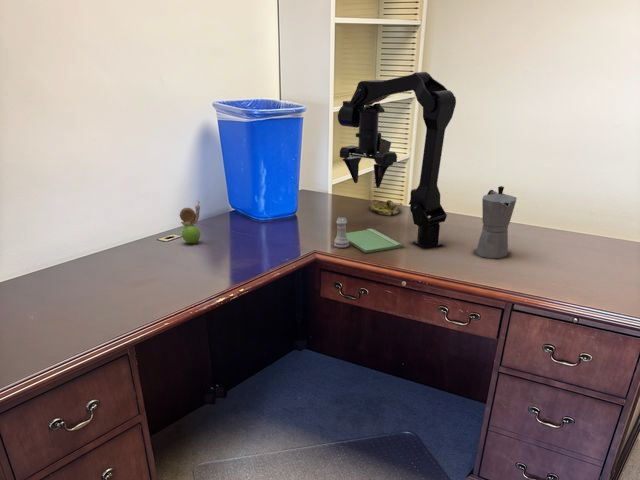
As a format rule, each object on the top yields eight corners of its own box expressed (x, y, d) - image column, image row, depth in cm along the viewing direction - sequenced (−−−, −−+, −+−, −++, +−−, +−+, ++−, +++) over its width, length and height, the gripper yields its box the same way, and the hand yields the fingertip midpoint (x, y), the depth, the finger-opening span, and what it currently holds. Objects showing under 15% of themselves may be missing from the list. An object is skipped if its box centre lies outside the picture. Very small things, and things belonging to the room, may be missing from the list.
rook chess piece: (331, 244, 177) (331, 217, 173) (345, 243, 178) (345, 215, 174) (337, 249, 174) (337, 221, 169) (351, 247, 175) (351, 219, 170)
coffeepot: (515, 260, 163) (527, 191, 153) (482, 261, 163) (491, 192, 153) (497, 243, 176) (507, 178, 166) (466, 244, 176) (474, 179, 166)
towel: (402, 247, 174) (402, 243, 174) (365, 253, 170) (365, 249, 170) (373, 231, 188) (373, 228, 187) (338, 236, 184) (338, 233, 183)
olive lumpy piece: (365, 209, 215) (380, 219, 203) (364, 195, 212) (379, 205, 200) (389, 204, 216) (406, 213, 204) (388, 190, 214) (405, 199, 202)
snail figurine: (206, 244, 180) (201, 202, 173) (185, 246, 178) (179, 205, 171) (202, 239, 184) (197, 198, 177) (181, 241, 182) (175, 200, 175)
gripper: (410, 129, 175) (406, 185, 184) (363, 123, 186) (362, 176, 195) (385, 133, 168) (383, 191, 177) (338, 127, 180) (338, 182, 188)
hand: (366, 185), depth 185 cm, fingers open, 9 cm apart
